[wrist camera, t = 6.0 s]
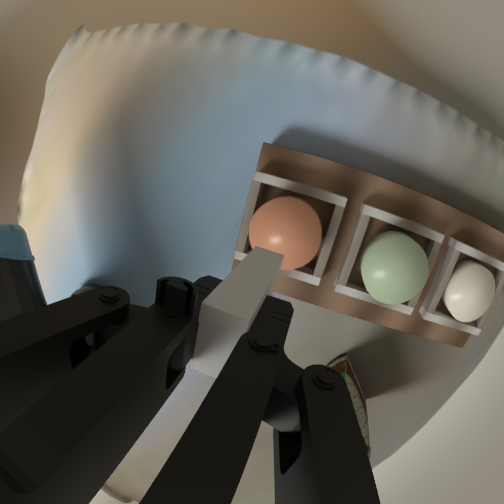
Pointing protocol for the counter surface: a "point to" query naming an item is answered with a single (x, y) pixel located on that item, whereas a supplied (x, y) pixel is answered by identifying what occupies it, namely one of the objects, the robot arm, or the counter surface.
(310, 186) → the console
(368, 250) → the sage button
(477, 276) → the cream button
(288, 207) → the terracotta button
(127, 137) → the counter surface
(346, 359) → the food container
